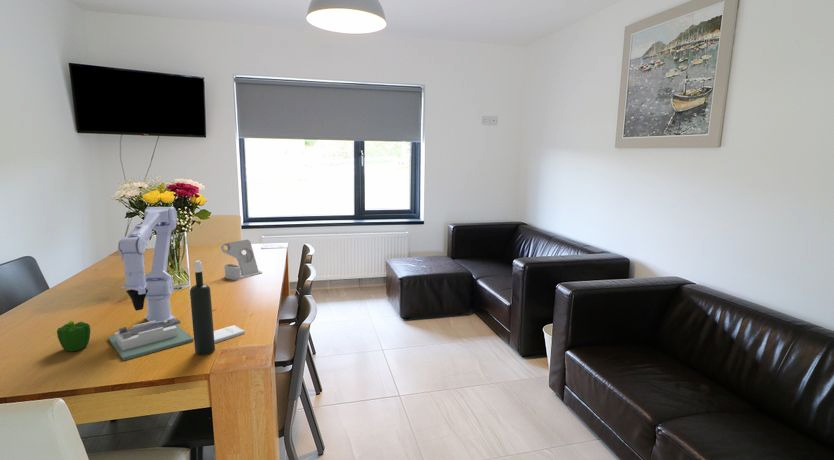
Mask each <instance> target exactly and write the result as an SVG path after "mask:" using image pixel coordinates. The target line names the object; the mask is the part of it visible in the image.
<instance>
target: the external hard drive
mask: <svg viewBox="0 0 834 460" xmlns="http://www.w3.org/2000/svg"><path fill="white" fill-rule="evenodd" d="M245 333H246V332H245V330H244V329H242V328H240V327H238V326H237V325H235V324H233V325H230V326H225V327H223V328H220V329H216V330H214V342H215V344H217V343H220V342H223V341H226V340H228V339H232V338H235V337H238V336H240V335H244V334H245Z"/></svg>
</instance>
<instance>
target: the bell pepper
mask: <svg viewBox="0 0 834 460" xmlns="http://www.w3.org/2000/svg"><path fill="white" fill-rule="evenodd" d="M74 322H75V321H73V320H69V321H68V322H67V323H66V324H64V325H63V326H61V327H58V328H57V331H56V334H57V339H58V341H59V344H60V346H61V347H62V349H64V350H65V351H67V352H76V351H77V352H78V351H80V350H82V349H83V348H85V347H87V346H88V345H89V343H90V338H91V326H90V324H89V323H87V322H84V321H78V322H76V323H74Z"/></svg>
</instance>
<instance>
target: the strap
mask: <svg viewBox="0 0 834 460" xmlns="http://www.w3.org/2000/svg"><path fill="white" fill-rule="evenodd" d="M167 321H168V323H166V324H164V321H162V322H158V323H154V324H149V325H145V326H141V327H136V328H132V327H131V328H132V329H131V328H128V330H126V331H125V330H123V331H122V333H127V332H131V335H134V334H138V333H140V332H144V331H148V330H152V329H157V328H161V327H167V326H172V325H176V324H177V325H179V324H181V321H180V319H178V318H177V317H175V319H171V320H167Z"/></svg>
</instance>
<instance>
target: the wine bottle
mask: <svg viewBox="0 0 834 460" xmlns="http://www.w3.org/2000/svg"><path fill="white" fill-rule="evenodd" d="M202 264H203V263H202V260H195V261H194V262H193V267H194V276H195V284H194V285H193V286H192V287H191V288H190V289H189V296H190V297H189V299H190V307H191V311H190V312H191V320H192V321H191V322H192V332H193V346H194V354H195V355H197V356H206V355H210V354H212V353H214V352H215V351H216V346H215V345H216V343H215V342H214V331H215V330H214V319H213V317H214V316H213V306H212V305H213V304H212V294H211V293H212V292H211V287H210V286H209V285H208V284H205V283H204V279H203V265H202Z"/></svg>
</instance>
